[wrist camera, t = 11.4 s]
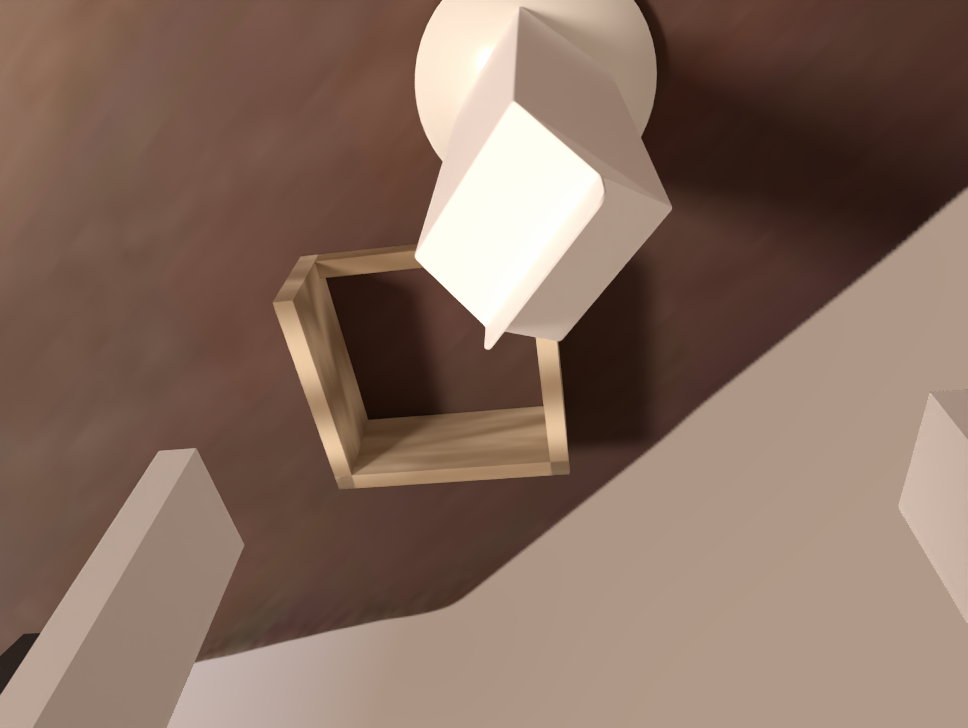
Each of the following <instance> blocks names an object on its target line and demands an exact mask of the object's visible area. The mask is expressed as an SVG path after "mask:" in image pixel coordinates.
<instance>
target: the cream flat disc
mask: <svg viewBox="0 0 968 728" xmlns="http://www.w3.org/2000/svg"><path fill="white" fill-rule="evenodd" d="M519 6H520V7H522V8H523V9H525V10H526V11H527V12H529V13H530V14H532V15H533V16H534V17H536V18H537V19H539V20H540V21H541V22H543V23H544V24H546V25H547V26H548V27H550V28H551V29H552V30H554V31H555V32H557V33H558V34H559V35H561V36H562V37H564V38H565V39H566V40H568V41H569V42H571V43H572V44H573V45H575V46H576V47H577V48H579V49H580V50H582V51H583V52H584V53H586V54H587V55H589V56H590V57H591V58H593V59H594V60H596V61H597V62H598V63H600V64H601V65H602V66H604V67H605V68H607V69H608V70H609V71H611V73H612V75H613V77H614V79H615V81H616V84H617V86H618V88H619V90H620V92H621V95H622V97H623V99H624V101H625V104H626V106H627V108H628V110H629V112H630V115H631V117H632V119H633V121H634V124H635V126H636V128H637V130H638V132H639V135H640V137H641V136H642V134H643V132H644V129H645V127H646V125H647V123H648V120H649V117H650V114H651V111H652V107H653V103H654V97H655V92H656V80H657V67H656V55H655V50H654V45H653V40H652V37H651V34H650V31H649V28H648V25H647V23H646V21H645V19H644V17H643V15H642V13H641V11H640V9H639V7H638V6H637V4H636V3H635V1H634V0H442V1H441V3H440V4H439V5H438V7H437V8H436V10H435V12H434V13H433V15H432V17H431V19H430V21H429V22H428V24H427V27H426V29H425V32H424V34H423V37H422V40H421V43H420V47H419V51H418V55H417V61H416V69H415V93H416V101H417V108H418V112H419V115H420V119H421V123H422V125H423V128H424V130H425V133H426V135H427V137H428V139H429V141H430V143H431V145H432V147H433V149H434V150H435V152H436V153H437V154H438V156H439V157H440V159H441V160H442V161H443V160H444V156H445V153H446V150H447V147H448V143H449V140H450V137H451V133H452V130H453V127H454V123H455V120H456V117H457V113H458V110H459V107H460V105H461V103H462V101H463V100H464V98H465V96H466V94H467V93H468V91H469V89H470V88H471V86H472V84H473V83H474V81H475V79H476V78H477V76H478V74H479V72H480V71H481V69H482V67H483V66H484V64H485V62H486V61H487V59H488V57H489V56H490V54H491V52H492V50H493V49H494V47H495V45H496V44H497V42H498V40H499V39H500V37H501V35H502V33H503V32H504V30H505V28H506V27H507V25H508V23H509V22H510V20H511V18H512V17H513V15H514V13H515V11H516V10H517V8H518V7H519Z"/></svg>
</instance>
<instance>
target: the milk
mask: <svg viewBox="0 0 968 728" xmlns="http://www.w3.org/2000/svg"><path fill="white" fill-rule="evenodd" d="M671 210H672V206H671V204H670V201H669V199H668V197H667V195H666V192H665V190H664V188H663V186H662V184H661V181H660V179H659V177H658V175H657V172H656V170H655V168H654V166H653V164H652V161H651V159H650V157H649V155H648V152H647V150H646V148H645V146H644V144H643V141H642V139H641V137H640V135H639V132H638V130H637V128H636V126H635V124H634V121H633V119H632V117H631V115H630V112H629V110H628V108H627V106H626V104H625V101H624V99H623V97H622V95H621V92H620V90H619V88H618V86H617V84H616V81H615V79H614V77H613V75H612V73H611V71H609V70H608V69H607V68H605V67H604V66H602V65H601V64H600V63H598V62H597V61H596V60H594V59H593V58H591V57H590V56H589V55H587V54H586V53H584V52H583V51H582V50H580V49H579V48H577V47H576V46H575V45H573V44H572V43H571V42H569V41H568V40H566V39H565V38H564V37H562V36H561V35H559V34H558V33H557V32H555V31H554V30H552V29H551V28H550V27H548V26H547V25H546V24H544V23H543V22H541V21H540V20H539V19H537V18H536V17H534V16H533V15H532V14H530V13H529V12H527V11H526V10H525V9H523V8H522V7H520V6H519V7H518V8H517V10H516V11H515V13H514V15H513V17H512V18H511V20H510V22H509V23H508V25H507V27H506V28H505V30H504V32H503V33H502V35H501V37H500V39H499V40H498V42H497V44H496V45H495V47H494V49H493V50H492V52H491V54H490V56H489V57H488V59H487V61H486V62H485V64H484V66H483V67H482V69H481V71H480V72H479V74H478V76H477V78H476V79H475V81H474V83H473V84H472V86H471V88H470V89H469V91H468V93H467V94H466V96H465V98H464V100H463V101H462V103H461V105H460V107H459V110H458V113H457V117H456V120H455V123H454V127H453V130H452V133H451V137H450V140H449V143H448V147H447V150H446V153H445V156H444V160H443V163H442V166H441V170H440V173H439V176H438V180H437V183H436V186H435V189H434V193H433V196H432V199H431V203H430V206H429V209H428V213H427V216H426V219H425V223H424V226H423V229H422V232H421V236H420V239H419V242H418V246H417V249H416V252H415V258H416V260H417V261H418V262H419V263H420V264H421V265H422V266H423V267H424V268H425V269H426V270H427V271H428V272H429V273H430V274H431V275H432V276H433V277H434V278H435V279H437V280H438V281H439V282H440V283H441V284H442V285H443V286H444V287H445V288H446V289H447V290H448V291H449V292H450V293H451V294H452V295H453V296H454V297H455V298H456V299H457V300H458V301H459V302H460V303H462V304H463V305H464V306H465V307H466V308H467V309H468V310H469V311H470V312H471V313H472V314H473V315H474V316H475V317H476V318H477V319H478V320H479V321H480V322H481V323H482V324H483V325H484V326H485V327H486V332H485V344H484V347H485V348H486V349H487V350H489V349H491V348H492V347H493V346H494V344H495V343H496V342H497V340H498V339H499V338H500V337H501V335H502V334H503V333H504V331H505V332H511V333H516V334H521V335H526V336H532V337H537V338H542V339H548V340H553V341H561V340H562V339H563V338H564V337H565V336H566V335H567V334H568V332H569V331H570V330H571V329H572V328H573V326H574V325H575V324H576V323H577V322H578V321H579V319H580V318H581V317H582V316H583V315H584V313H585V312H586V311H587V310H588V309H589V307H590V306H591V305H592V304H593V303H594V302H595V300H596V299H597V298H598V297H599V296H600V294H601V293H602V292H603V291H604V290H605V288H606V287H607V286H608V285H609V284H610V282H611V281H612V280H613V279H614V278H615V277H616V275H617V274H618V273H619V272H620V271H621V269H622V268H623V267H624V266H625V265H626V263H627V262H628V261H629V260H630V259H631V258H632V256H633V255H634V254H635V253H636V252H637V250H638V249H639V248H640V247H641V246H642V244H643V243H644V242H645V241H646V240H647V239H648V237H649V236H650V235H651V234H652V233H653V231H654V230H655V229H656V228H657V227H658V225H659V224H660V223H661V222H662V221H663V220H664V218H665V217H666V216H667V215H668V214H669V212H670V211H671Z"/></svg>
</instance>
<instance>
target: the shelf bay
mask: <svg viewBox="0 0 968 728" xmlns="http://www.w3.org/2000/svg"><path fill="white" fill-rule="evenodd" d="M417 246H418V244H411V245H402V246H393V247H383V248H374V249H365V250H356V251H347V252H338V253H329V254H320V255H310V256H301V257H300V258H299V260H298V262H297V263H296V265H295V267H294V268H293V270H292V272H291V273H290V275H289V276H288V278H287V280H286V281H285V283H284V285H283V286H282V288H281V290H280V291H279V293H278V295H277V296H276V298H275V300H274V301H273V305H274V308H275V311H276V313H277V316H278V319H279V322H280V325H281V327H282V330H283V333H284V336H285V339H286V341H287V344H288V347H289V350H290V353H291V355H292V358H293V361H294V364H295V367H296V369H297V372H298V375H299V378H300V381H301V383H302V386H303V389H304V392H305V395H306V397H307V400H308V403H309V406H310V409H311V411H312V414H313V417H314V420H315V423H316V425H317V428H318V431H319V434H320V437H321V439H322V442H323V445H324V448H325V451H326V453H327V456H328V459H329V462H330V465H331V467H332V470H333V473H334V476H335V479H336V481H337V484H338V487H339V489H351V488H366V487H381V486H396V485H411V484H426V483H441V482H456V481H471V480H486V479H501V478H516V477H531V476H546V475H561V474H570V470H569V456H568V442H567V429H566V415H565V405H564V394H563V384H562V373H561V363H560V352H559V342H558V341H553V340H548V339H542V338H537V337H536V343H537V352H538V360H539V369H540V377H541V386H542V395H543V403H544V406H539V407H526V408H513V409H501V410H488V411H475V412H463V413H450V414H437V415H424V416H412V417H399V418H386V419H374V420H368V418H367V414H366V411H365V408H364V404H363V401H362V398H361V394H360V391H359V388H358V384H357V381H356V378H355V374H354V371H353V368H352V364H351V361H350V358H349V355H348V351H347V348H346V345H345V341H344V338H343V335H342V331H341V328H340V325H339V321H338V318H337V315H336V311H335V308H334V305H333V301H332V298H331V295H330V291H329V288H328V285H327V282H326V278H328V277H337V276H347V275H356V274H366V273H376V272H385V271H395V270H404V269H414V268H423V266H422V265H421V264H420V263H419V262H418V261H417V260H416V258H415V252H416V249H417Z"/></svg>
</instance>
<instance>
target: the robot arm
mask: <svg viewBox="0 0 968 728" xmlns="http://www.w3.org/2000/svg"><path fill="white" fill-rule="evenodd" d="M898 508H899V510H900V511H901V513H902V515H903V516H904V518H905V520H906V521H907V523H908V525H909V526H910V528H911V530H912V532H913V533H914V535H915V537H916V538H917V540H918V542H919V543H920V545H921V547H922V548H923V550H924V552H925V553H926V555H927V557H928V558H929V560H930V562H931V563H932V565H933V567H934V569H935V570H936V572H937V574H938V575H939V577H940V579H941V580H942V582H943V584H944V585H945V587H946V589H947V590H948V592H949V594H950V595H951V597H952V599H953V600H954V602H955V604H956V605H957V607H958V609H959V610H960V612H961V614H962V616H963V617H964V619H965V621H966V622H967V624H968V389H965V390H952V391H940V392H930V394H929V398H928V402H927V405H926V409H925V413H924V416H923V420H922V423H921V427H920V430H919V434H918V438H917V441H916V445H915V449H914V452H913V456H912V459H911V463H910V466H909V470H908V474H907V477H906V481H905V484H904V488H903V492H902V495H901V499H900V502H899V506H898ZM243 547H244V544H243V542H242V540H241V538H240V535H239V533H238V531H237V529H236V527H235V525H234V523H233V521H232V519H231V517H230V515H229V513H228V511H227V509H226V507H225V505H224V503H223V501H222V499H221V497H220V495H219V493H218V491H217V489H216V487H215V485H214V483H213V481H212V479H211V477H210V475H209V473H208V471H207V469H206V467H205V465H204V463H203V461H202V459H201V457H200V455H199V453H198V451H197V449H196V448H192V449H179V450H166V451H158V453H157V454H156V456H155V458H154V459H153V461H152V462H151V464H150V465H149V467H148V468H147V470H146V471H145V473H144V475H143V476H142V478H141V479H140V481H139V482H138V484H137V485H136V487H135V488H134V490H133V492H132V493H131V495H130V496H129V498H128V499H127V501H126V502H125V504H124V505H123V507H122V508H121V510H120V512H119V513H118V515H117V516H116V518H115V519H114V521H113V522H112V524H111V525H110V527H109V529H108V530H107V532H106V533H105V535H104V536H103V538H102V539H101V541H100V542H99V544H98V546H97V547H96V549H95V550H94V552H93V553H92V555H91V556H90V558H89V559H88V561H87V562H86V564H85V566H84V567H83V569H82V570H81V572H80V573H79V575H78V576H77V578H76V579H75V581H74V583H73V584H72V586H71V587H70V589H69V590H68V592H67V593H66V595H65V596H64V598H63V600H62V601H61V603H60V604H59V606H58V607H57V609H56V610H55V612H54V613H53V615H52V616H51V618H50V620H49V621H48V623H47V624H46V626H45V627H44V629H43V630H42V632H41V633H34V634H23V635H22V636H21V637H20V638H19V639H18V640H17V641H16V642H15V643H14V644H13V645H12V646H11V647H9V648H8V649H7V650H6V651H5V652H4V653H3V654H2V655H1V656H0V728H167V725H168V723H169V720H170V718H171V716H172V713H173V711H174V709H175V706H176V704H177V702H178V699H179V697H180V695H181V692H182V690H183V688H184V685H185V683H186V681H187V678H188V676H189V674H190V671H191V669H192V667H193V664H194V662H195V660H196V657H197V655H198V653H199V650H200V648H201V646H202V643H203V641H204V638H205V636H206V634H207V631H208V629H209V627H210V624H211V622H212V620H213V617H214V615H215V613H216V610H217V608H218V606H219V603H220V601H221V599H222V596H223V594H224V592H225V589H226V587H227V585H228V582H229V580H230V578H231V575H232V573H233V571H234V568H235V566H236V563H237V561H238V559H239V556H240V554H241V552H242V549H243Z"/></svg>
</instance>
